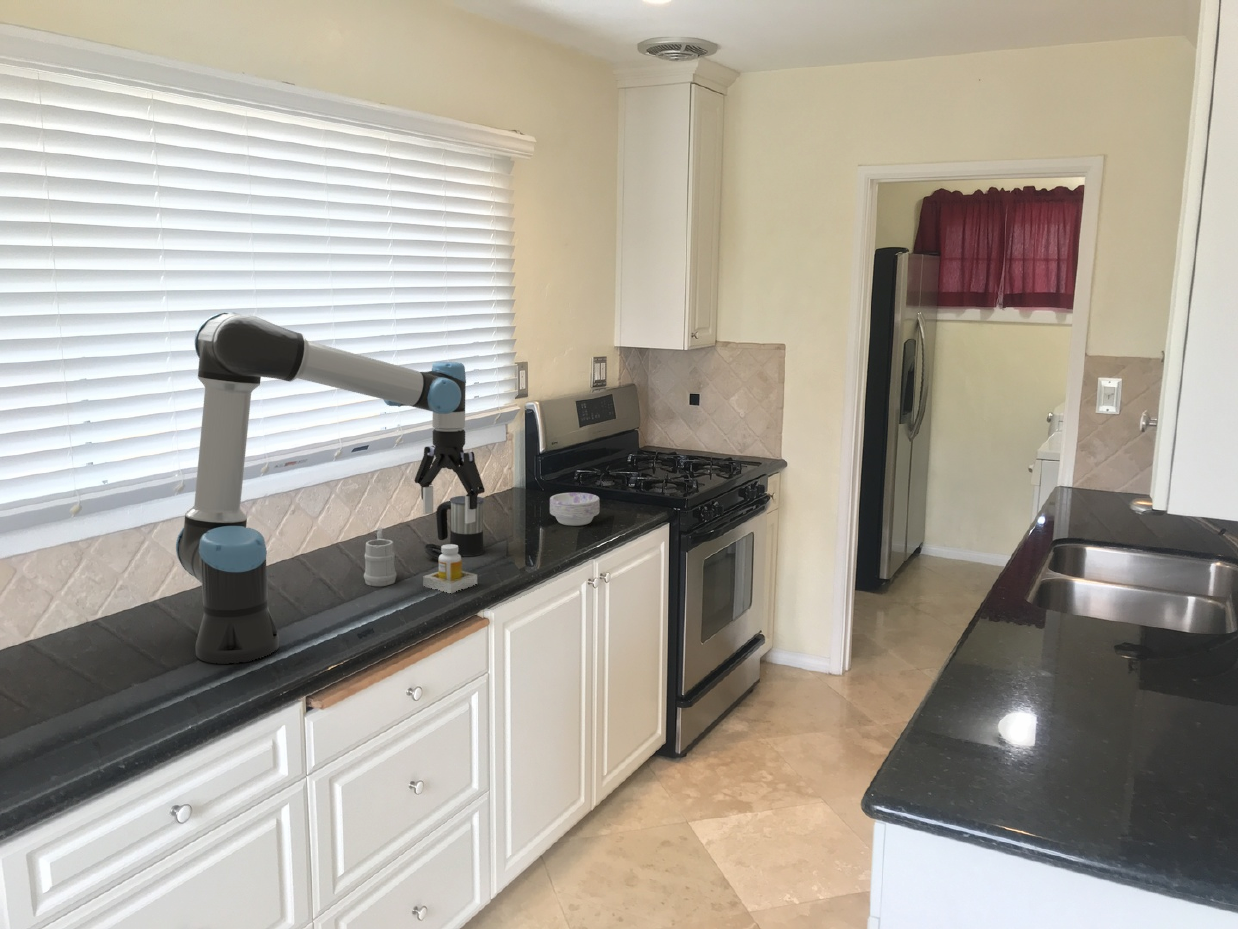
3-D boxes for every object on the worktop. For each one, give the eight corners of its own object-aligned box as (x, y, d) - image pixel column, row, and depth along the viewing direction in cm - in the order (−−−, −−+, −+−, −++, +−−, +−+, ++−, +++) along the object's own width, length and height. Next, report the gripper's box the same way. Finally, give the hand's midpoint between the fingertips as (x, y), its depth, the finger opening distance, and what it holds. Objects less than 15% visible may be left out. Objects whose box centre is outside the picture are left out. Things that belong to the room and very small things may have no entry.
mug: (363, 587, 227) (362, 538, 225) (365, 573, 238) (363, 526, 236) (396, 586, 229) (395, 537, 226) (396, 571, 240) (395, 525, 238)
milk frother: (488, 549, 263) (488, 496, 260) (473, 565, 247) (473, 509, 245) (438, 546, 264) (437, 493, 261) (419, 562, 249) (419, 506, 246)
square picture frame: (450, 593, 224) (450, 583, 223) (423, 586, 229) (423, 576, 228) (477, 584, 231) (477, 574, 231) (449, 577, 236) (449, 567, 236)
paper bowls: (542, 525, 289) (542, 500, 288) (559, 514, 304) (560, 490, 302) (590, 530, 285) (590, 504, 284) (605, 519, 299) (606, 494, 298)
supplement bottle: (462, 582, 233) (462, 543, 231) (460, 589, 227) (459, 549, 226) (440, 582, 233) (440, 543, 231) (437, 588, 227) (436, 549, 226)
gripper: (500, 432, 219) (499, 523, 223) (422, 421, 233) (422, 507, 237) (478, 436, 213) (477, 529, 217) (399, 424, 227) (399, 512, 231)
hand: (448, 518), depth 227 cm, fingers open, 13 cm apart
